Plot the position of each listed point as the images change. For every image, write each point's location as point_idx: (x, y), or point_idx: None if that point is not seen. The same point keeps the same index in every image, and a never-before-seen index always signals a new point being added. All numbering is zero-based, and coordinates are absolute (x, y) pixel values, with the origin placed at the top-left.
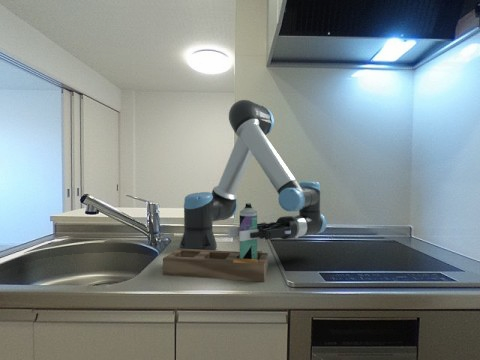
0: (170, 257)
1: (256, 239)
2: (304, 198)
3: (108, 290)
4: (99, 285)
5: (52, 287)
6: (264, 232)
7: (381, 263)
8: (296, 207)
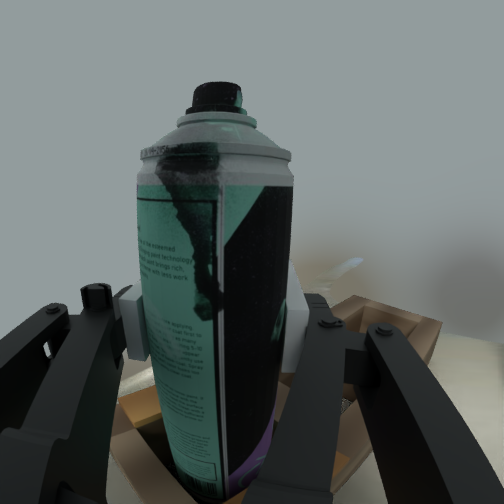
0: (356, 302)
1: (153, 371)
2: None
3: (304, 287)
4: (330, 285)
5: (343, 268)
6: (71, 317)
7: None
8: None
